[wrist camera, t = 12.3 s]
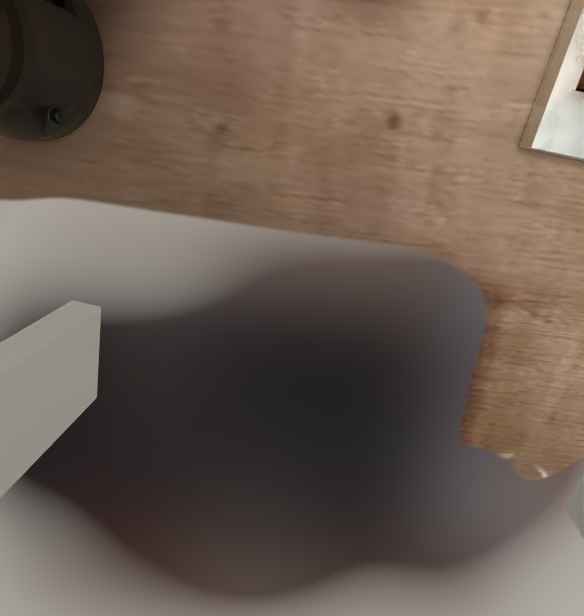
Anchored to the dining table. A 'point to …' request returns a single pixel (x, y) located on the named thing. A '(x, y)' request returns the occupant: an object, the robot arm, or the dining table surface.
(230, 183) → the dining table surface
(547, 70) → the grey slotted block
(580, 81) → the tan notched block
